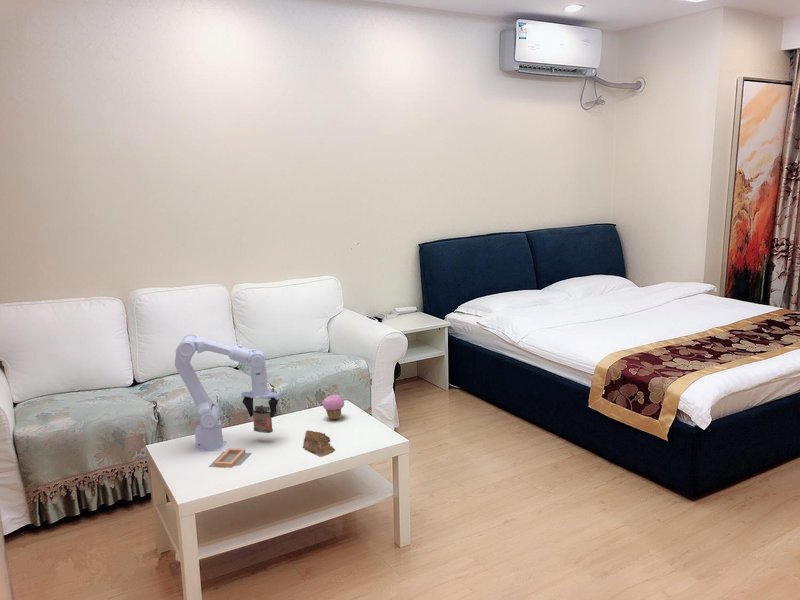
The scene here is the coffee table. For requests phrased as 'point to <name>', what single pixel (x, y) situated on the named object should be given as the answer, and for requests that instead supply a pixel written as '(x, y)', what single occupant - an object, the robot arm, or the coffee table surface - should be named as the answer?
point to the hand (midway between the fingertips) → (262, 416)
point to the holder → (231, 458)
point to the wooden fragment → (317, 443)
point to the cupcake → (333, 406)
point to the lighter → (262, 419)
